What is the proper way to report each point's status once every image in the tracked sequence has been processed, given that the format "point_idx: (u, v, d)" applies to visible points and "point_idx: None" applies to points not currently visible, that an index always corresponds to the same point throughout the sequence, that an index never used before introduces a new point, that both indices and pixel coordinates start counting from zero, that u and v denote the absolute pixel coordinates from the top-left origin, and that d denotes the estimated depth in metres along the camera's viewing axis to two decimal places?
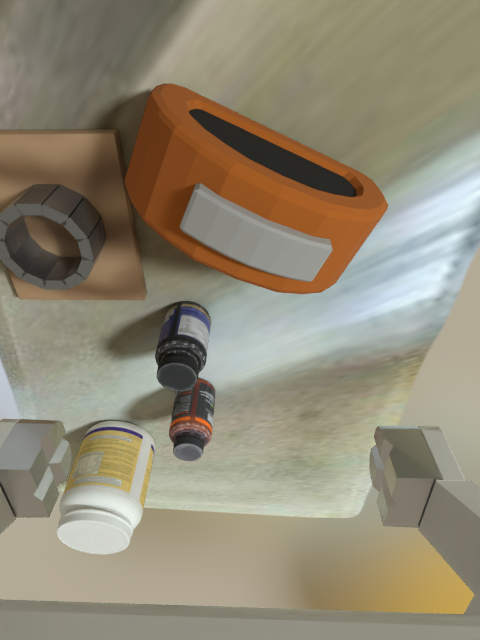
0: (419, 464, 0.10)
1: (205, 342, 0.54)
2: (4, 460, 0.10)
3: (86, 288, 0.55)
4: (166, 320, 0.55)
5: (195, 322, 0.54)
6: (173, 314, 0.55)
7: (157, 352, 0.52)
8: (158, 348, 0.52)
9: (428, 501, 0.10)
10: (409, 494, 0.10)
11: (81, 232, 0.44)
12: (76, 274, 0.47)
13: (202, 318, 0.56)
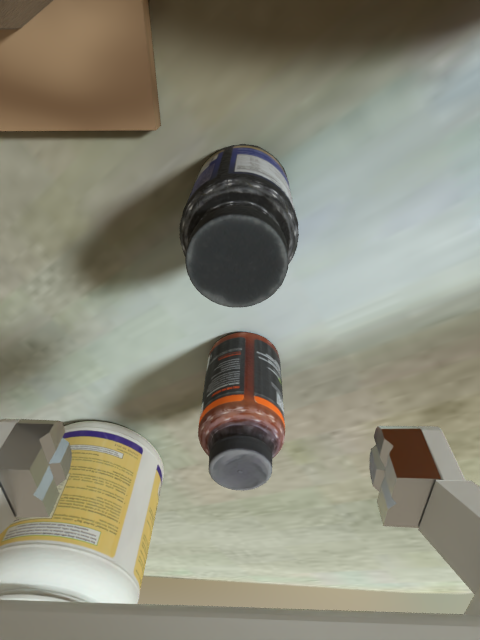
0: (419, 464, 0.10)
1: (293, 206, 0.24)
2: (4, 460, 0.10)
3: (30, 98, 0.25)
4: (202, 171, 0.25)
5: (268, 166, 0.24)
6: (217, 158, 0.25)
7: (186, 214, 0.22)
8: (188, 204, 0.22)
9: (428, 501, 0.10)
10: (409, 494, 0.10)
11: None
12: None
13: (279, 168, 0.26)
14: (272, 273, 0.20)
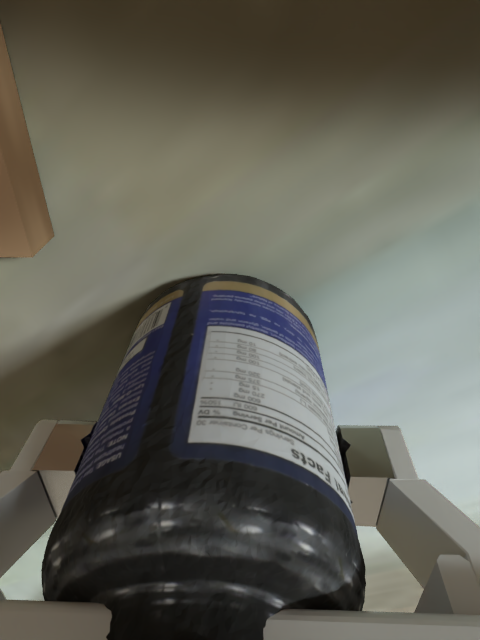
0: (374, 463, 0.10)
1: (344, 478, 0.09)
2: (48, 461, 0.10)
3: None
4: (132, 353, 0.11)
5: (280, 364, 0.10)
6: (165, 325, 0.11)
7: (48, 569, 0.07)
8: (55, 542, 0.07)
9: (384, 500, 0.10)
10: (364, 493, 0.10)
11: None
12: None
13: (303, 343, 0.12)
14: None
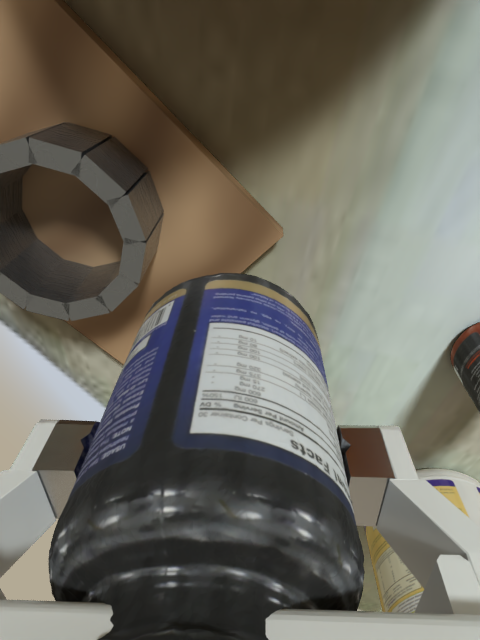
0: (374, 463, 0.10)
1: (343, 470, 0.10)
2: (47, 461, 0.10)
3: None
4: (136, 350, 0.12)
5: (281, 360, 0.10)
6: (169, 322, 0.12)
7: (55, 556, 0.08)
8: (61, 530, 0.08)
9: (384, 500, 0.10)
10: (364, 493, 0.10)
11: (66, 151, 0.21)
12: (125, 244, 0.24)
13: (303, 340, 0.12)
14: None
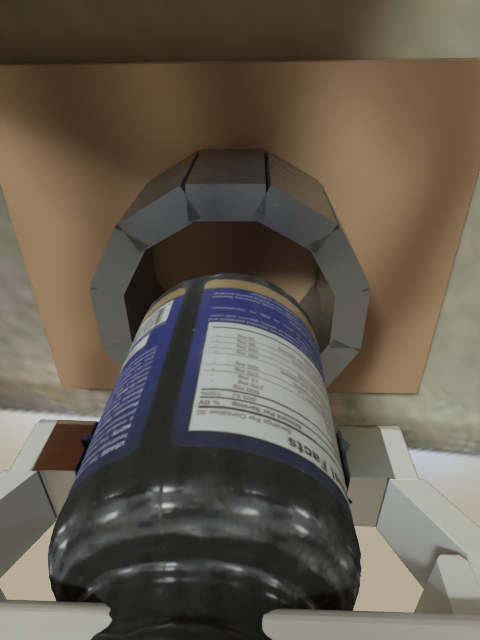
0: (374, 463, 0.10)
1: None
2: (48, 461, 0.10)
3: (419, 241, 0.20)
4: (135, 349, 0.12)
5: (279, 358, 0.10)
6: (168, 321, 0.12)
7: (54, 552, 0.08)
8: (61, 526, 0.08)
9: (384, 500, 0.10)
10: (364, 493, 0.10)
11: (164, 201, 0.14)
12: (315, 251, 0.15)
13: (302, 339, 0.12)
14: None
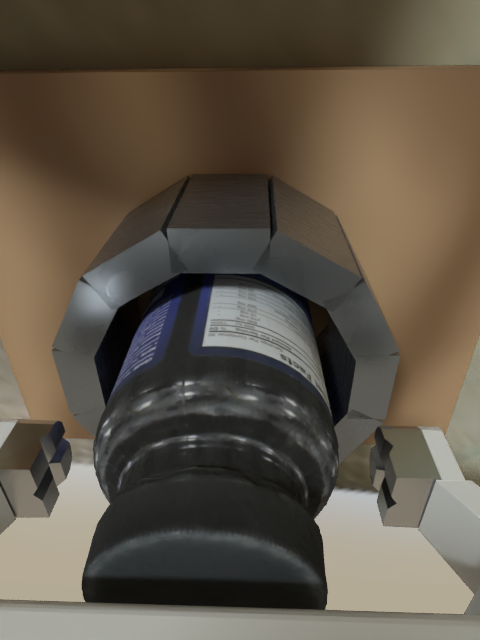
0: (419, 464, 0.10)
1: (324, 387, 0.12)
2: (4, 460, 0.10)
3: (451, 280, 0.17)
4: (153, 300, 0.14)
5: (274, 302, 0.13)
6: (180, 276, 0.14)
7: (100, 442, 0.10)
8: (105, 421, 0.10)
9: (428, 500, 0.10)
10: (409, 494, 0.10)
11: (140, 249, 0.11)
12: (332, 310, 0.12)
13: (293, 291, 0.14)
14: None
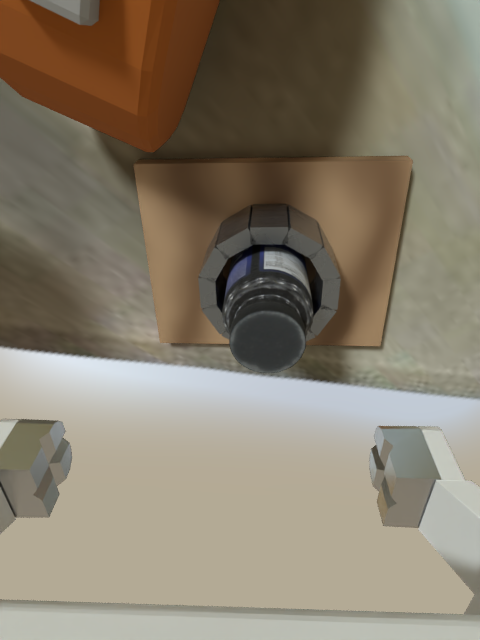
0: (419, 464, 0.10)
1: (309, 290, 0.30)
2: (4, 460, 0.10)
3: (374, 252, 0.35)
4: (237, 258, 0.32)
5: (289, 257, 0.31)
6: (249, 248, 0.32)
7: (227, 302, 0.29)
8: (229, 295, 0.29)
9: (428, 501, 0.10)
10: (409, 494, 0.10)
11: (239, 235, 0.29)
12: (312, 259, 0.30)
13: (297, 255, 0.33)
14: (294, 349, 0.27)
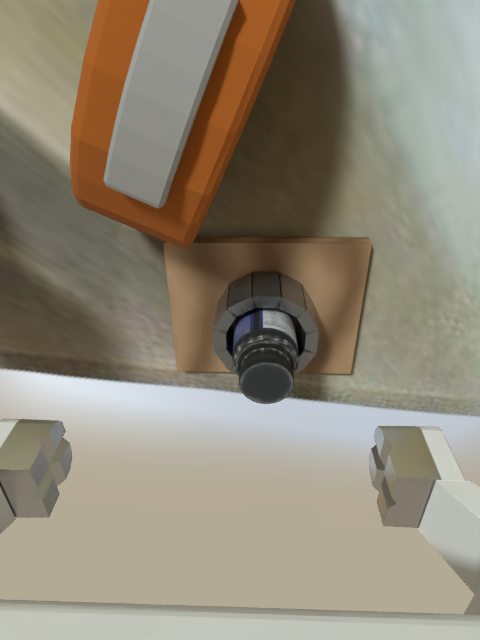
0: (419, 464, 0.10)
1: (296, 340, 0.41)
2: (4, 460, 0.10)
3: (345, 306, 0.46)
4: (242, 314, 0.43)
5: (281, 315, 0.42)
6: None
7: (237, 352, 0.39)
8: (238, 346, 0.39)
9: (428, 501, 0.10)
10: (409, 494, 0.10)
11: (245, 301, 0.40)
12: (298, 317, 0.41)
13: None
14: (285, 388, 0.38)
